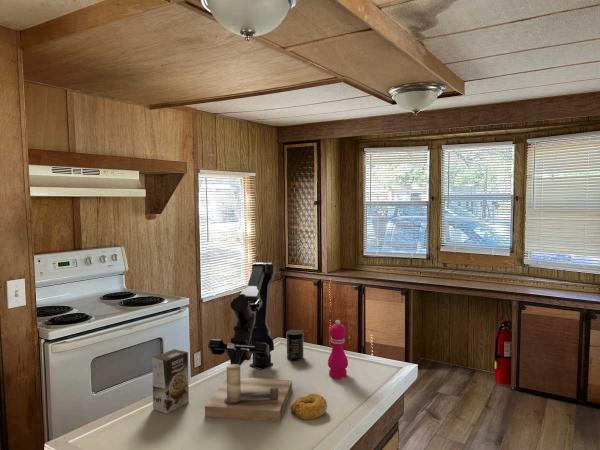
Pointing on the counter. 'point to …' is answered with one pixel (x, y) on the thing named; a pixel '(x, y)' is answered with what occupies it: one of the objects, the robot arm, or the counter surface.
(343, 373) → the pepper mill
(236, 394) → the folding leg
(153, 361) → the coffee box
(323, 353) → the counter surface
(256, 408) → the stool seat
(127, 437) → the counter surface
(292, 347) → the supplement container
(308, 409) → the bagel
